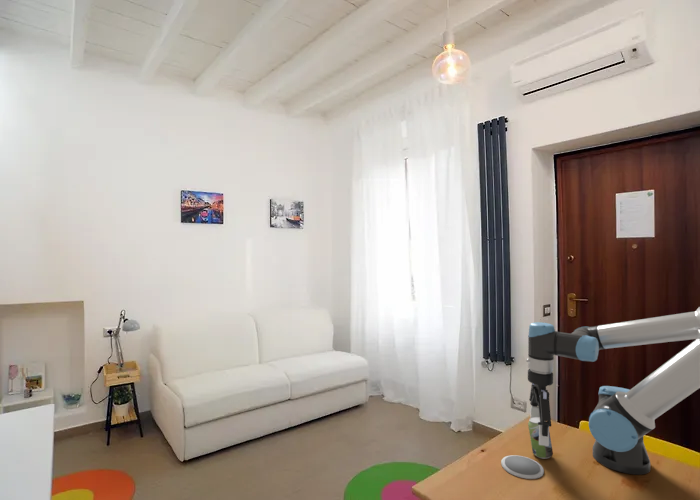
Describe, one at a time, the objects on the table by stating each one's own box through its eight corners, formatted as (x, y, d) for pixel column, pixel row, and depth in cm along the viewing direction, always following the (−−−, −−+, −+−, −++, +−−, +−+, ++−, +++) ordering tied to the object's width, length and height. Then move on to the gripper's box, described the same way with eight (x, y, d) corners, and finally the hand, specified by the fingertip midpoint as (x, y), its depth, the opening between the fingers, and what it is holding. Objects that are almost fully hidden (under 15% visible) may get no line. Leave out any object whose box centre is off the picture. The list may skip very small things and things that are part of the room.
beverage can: (555, 462, 123) (555, 424, 123) (530, 459, 124) (530, 422, 124) (549, 452, 129) (549, 416, 129) (525, 449, 130) (526, 414, 130)
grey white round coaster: (539, 460, 124) (539, 457, 124) (547, 481, 112) (547, 478, 112) (499, 454, 127) (499, 451, 127) (503, 475, 115) (503, 472, 115)
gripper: (521, 358, 139) (520, 417, 140) (535, 382, 115) (534, 452, 116) (544, 360, 138) (542, 419, 138) (563, 384, 113) (562, 456, 114)
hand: (539, 434), depth 127 cm, fingers open, 13 cm apart
